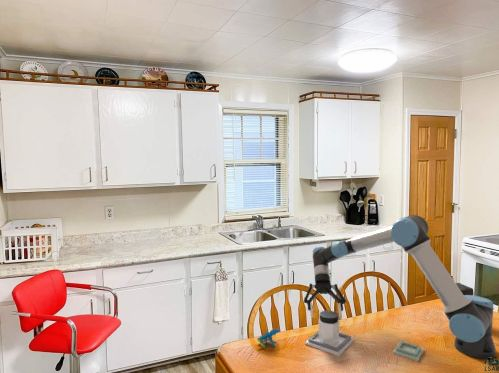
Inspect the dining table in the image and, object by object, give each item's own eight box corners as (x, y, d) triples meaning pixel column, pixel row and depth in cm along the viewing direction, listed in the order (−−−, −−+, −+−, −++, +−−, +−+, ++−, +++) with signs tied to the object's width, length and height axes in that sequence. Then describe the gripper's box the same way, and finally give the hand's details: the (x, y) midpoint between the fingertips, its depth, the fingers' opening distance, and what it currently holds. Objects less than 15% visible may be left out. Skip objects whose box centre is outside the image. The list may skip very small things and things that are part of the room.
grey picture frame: (353, 340, 164) (354, 336, 163) (339, 356, 151) (339, 351, 151) (321, 330, 173) (321, 326, 173) (305, 343, 161) (305, 339, 160)
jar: (330, 347, 156) (331, 320, 155) (315, 340, 162) (315, 314, 161) (341, 340, 162) (342, 314, 161) (326, 333, 168) (327, 308, 167)
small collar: (423, 351, 155) (424, 346, 155) (418, 361, 147) (418, 356, 147) (399, 343, 161) (399, 339, 161) (392, 353, 153) (392, 348, 153)
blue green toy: (274, 332, 168) (280, 324, 160) (279, 345, 164) (287, 337, 157) (253, 341, 163) (259, 333, 155) (258, 354, 160) (265, 347, 152)
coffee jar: (446, 317, 188) (448, 282, 187) (459, 315, 191) (460, 281, 189) (462, 325, 179) (464, 288, 178) (475, 323, 181) (477, 287, 180)
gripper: (345, 279, 187) (351, 320, 173) (296, 278, 188) (299, 319, 174) (348, 272, 181) (354, 314, 168) (298, 272, 182) (300, 313, 169)
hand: (326, 317), depth 171 cm, fingers open, 13 cm apart
